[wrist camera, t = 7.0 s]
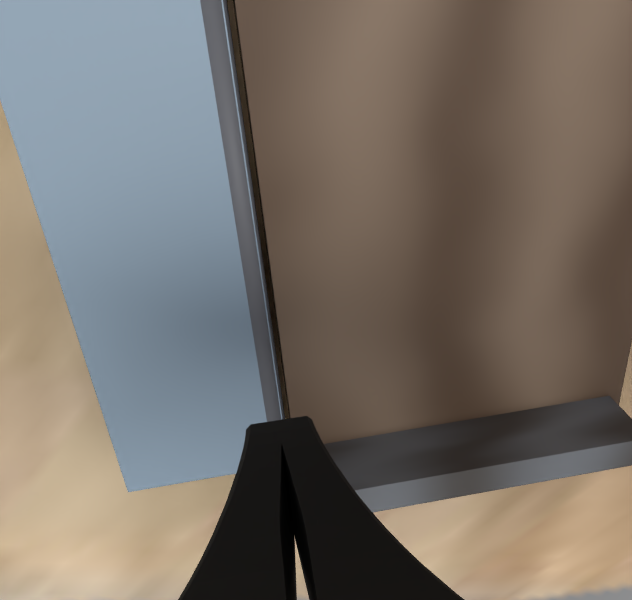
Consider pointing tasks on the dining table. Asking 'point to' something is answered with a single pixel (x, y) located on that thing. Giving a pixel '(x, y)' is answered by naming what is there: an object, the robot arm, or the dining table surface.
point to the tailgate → (148, 220)
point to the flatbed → (448, 233)
